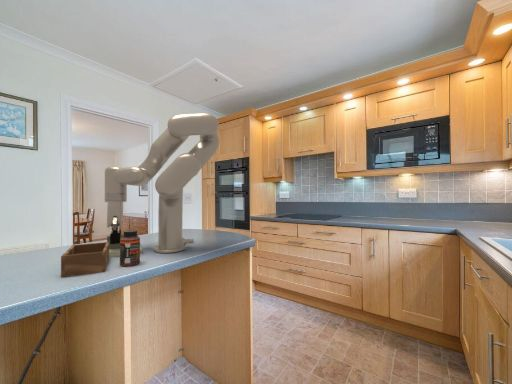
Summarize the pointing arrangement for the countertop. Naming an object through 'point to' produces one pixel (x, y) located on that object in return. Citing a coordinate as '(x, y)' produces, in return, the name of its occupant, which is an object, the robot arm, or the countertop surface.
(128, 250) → the supplement bottle
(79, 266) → the box
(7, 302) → the countertop surface
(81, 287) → the countertop surface
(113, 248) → the lid
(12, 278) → the countertop surface
